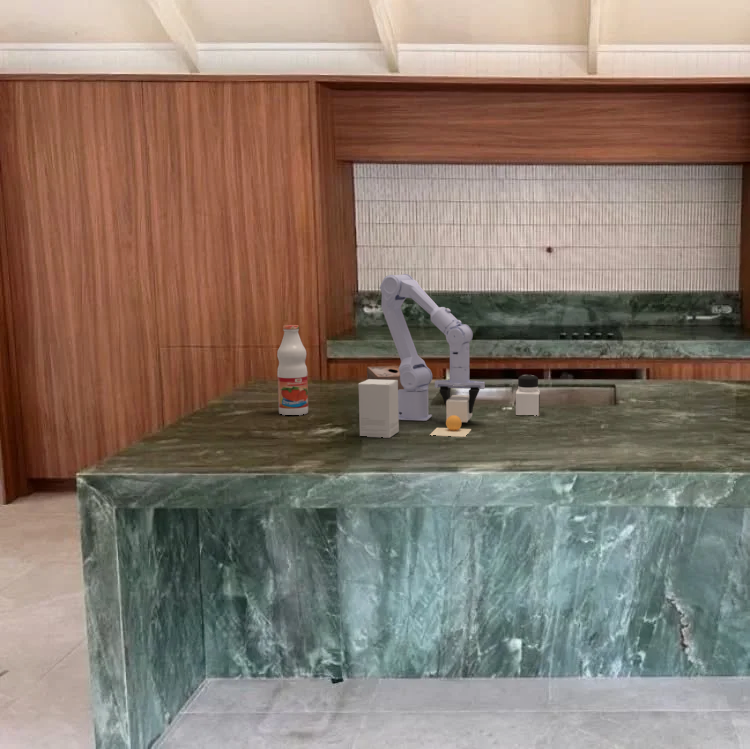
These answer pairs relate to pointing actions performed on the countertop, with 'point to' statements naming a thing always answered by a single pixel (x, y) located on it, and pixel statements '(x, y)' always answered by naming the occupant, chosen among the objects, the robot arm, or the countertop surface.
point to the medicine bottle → (528, 396)
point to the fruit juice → (292, 374)
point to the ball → (453, 423)
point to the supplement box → (378, 408)
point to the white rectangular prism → (458, 407)
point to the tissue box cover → (384, 373)
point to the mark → (450, 432)
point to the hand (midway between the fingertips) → (459, 412)
